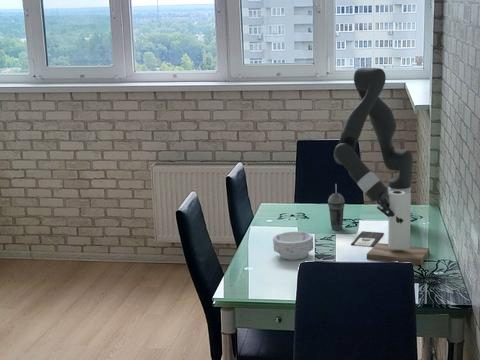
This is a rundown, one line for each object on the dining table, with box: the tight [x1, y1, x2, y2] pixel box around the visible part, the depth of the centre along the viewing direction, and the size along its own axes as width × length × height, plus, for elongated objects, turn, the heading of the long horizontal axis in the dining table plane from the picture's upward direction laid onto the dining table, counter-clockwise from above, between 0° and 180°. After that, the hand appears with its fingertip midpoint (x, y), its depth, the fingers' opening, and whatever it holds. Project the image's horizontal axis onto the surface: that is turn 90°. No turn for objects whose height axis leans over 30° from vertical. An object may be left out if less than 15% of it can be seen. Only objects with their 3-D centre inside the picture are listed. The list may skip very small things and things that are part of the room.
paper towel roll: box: [387, 191, 412, 249], centre depth 261 cm, size 7×6×21 cm
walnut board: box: [366, 242, 431, 266], centre depth 264 cm, size 14×20×2 cm
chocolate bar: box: [350, 230, 385, 248], centre depth 286 cm, size 9×1×18 cm
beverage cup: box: [327, 183, 346, 231], centre depth 301 cm, size 7×7×20 cm
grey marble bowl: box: [272, 231, 314, 261], centre depth 269 cm, size 15×15×8 cm
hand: (403, 221), depth 260 cm, fingers closed on paper towel roll, 3 cm apart
